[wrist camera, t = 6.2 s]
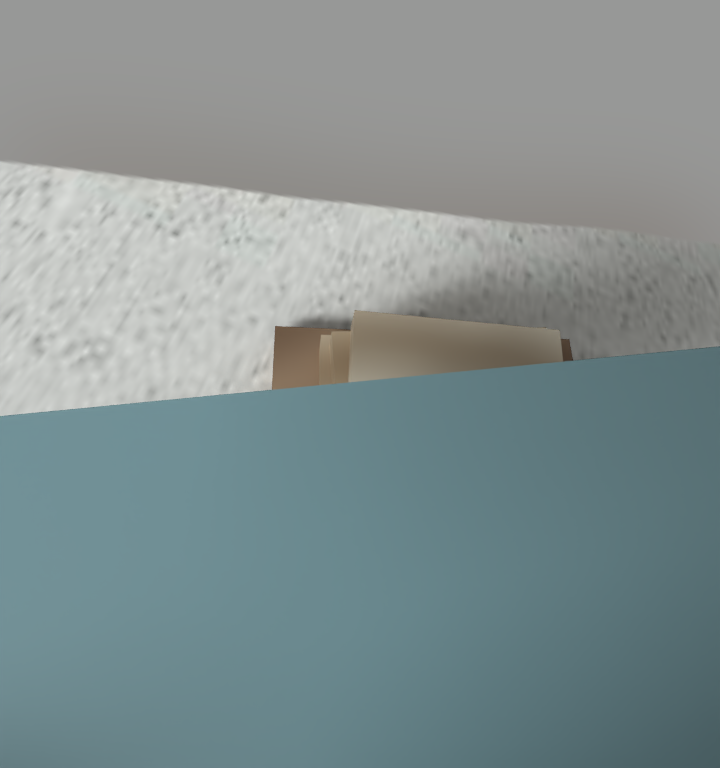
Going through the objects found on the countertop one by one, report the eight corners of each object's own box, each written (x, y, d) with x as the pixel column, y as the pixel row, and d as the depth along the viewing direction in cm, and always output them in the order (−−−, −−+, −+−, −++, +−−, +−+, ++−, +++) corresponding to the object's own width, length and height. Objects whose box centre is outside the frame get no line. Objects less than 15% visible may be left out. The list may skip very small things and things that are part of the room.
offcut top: (552, 439, 20) (570, 429, 18) (345, 424, 19) (349, 413, 18) (543, 345, 21) (559, 329, 20) (350, 327, 20) (354, 310, 19)
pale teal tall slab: (457, 618, 14) (1001, 752, 3) (221, 660, 13) (-132, 1064, 2) (436, 510, 15) (802, 338, 4) (215, 541, 14) (-48, 419, 3)
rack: (602, 661, 21) (679, 682, 17) (259, 673, 20) (250, 700, 15) (554, 352, 26) (604, 309, 22) (276, 340, 24) (272, 291, 20)
